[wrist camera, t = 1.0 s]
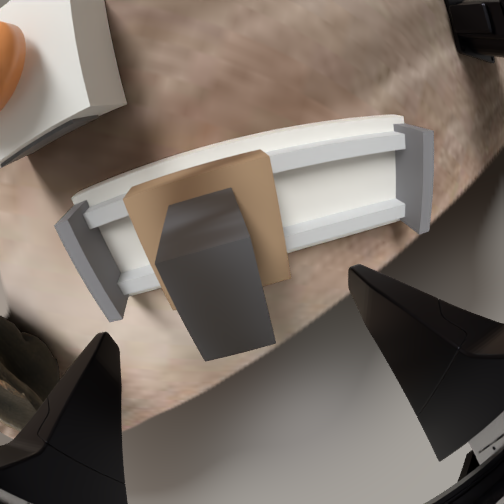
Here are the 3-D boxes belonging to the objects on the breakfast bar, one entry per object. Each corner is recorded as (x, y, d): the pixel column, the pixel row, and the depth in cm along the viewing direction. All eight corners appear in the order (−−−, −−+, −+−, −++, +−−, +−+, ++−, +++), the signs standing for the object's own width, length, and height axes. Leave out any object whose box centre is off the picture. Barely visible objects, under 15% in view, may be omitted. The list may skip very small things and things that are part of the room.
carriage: (260, 149, 14) (310, 189, 8) (281, 259, 17) (323, 343, 12) (131, 186, 13) (86, 253, 8) (174, 289, 17) (170, 382, 11)
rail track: (393, 114, 16) (433, 122, 13) (396, 213, 20) (428, 237, 17) (78, 191, 15) (50, 217, 12) (124, 288, 19) (113, 327, 16)
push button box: (104, -2, 9) (67, -37, 4) (128, 107, 13) (91, 110, 8) (5, 58, 9) (-50, 57, 4) (27, 158, 13) (-27, 186, 8)
